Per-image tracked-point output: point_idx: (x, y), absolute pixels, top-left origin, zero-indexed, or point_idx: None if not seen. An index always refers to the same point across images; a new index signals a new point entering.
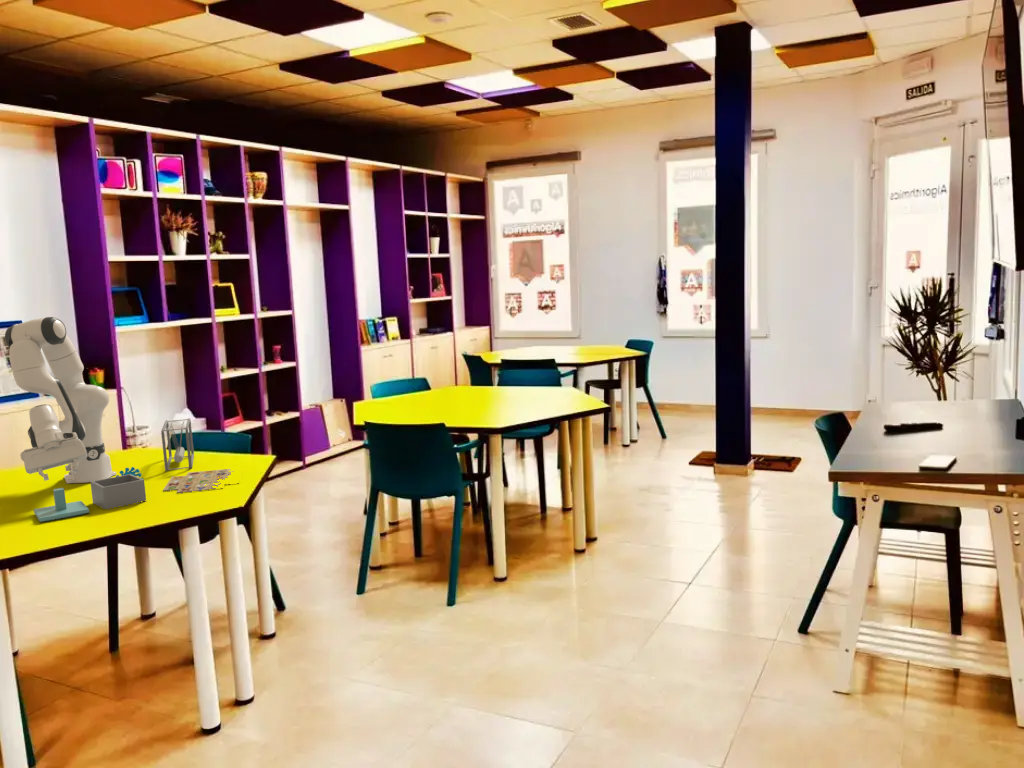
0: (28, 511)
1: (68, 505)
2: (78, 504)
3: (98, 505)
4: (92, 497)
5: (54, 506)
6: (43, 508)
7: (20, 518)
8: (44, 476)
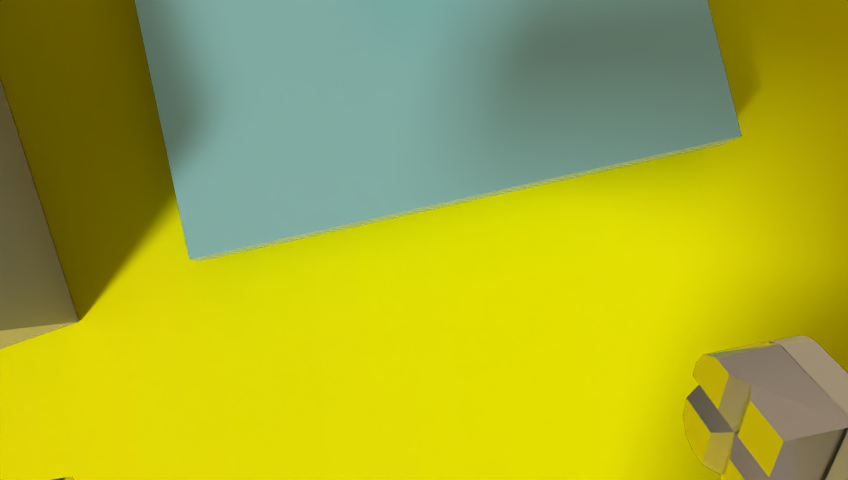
0: None
1: (333, 78)
2: (211, 55)
3: (3, 102)
4: (39, 317)
5: (502, 133)
6: (626, 105)
7: (836, 45)
8: (818, 374)
